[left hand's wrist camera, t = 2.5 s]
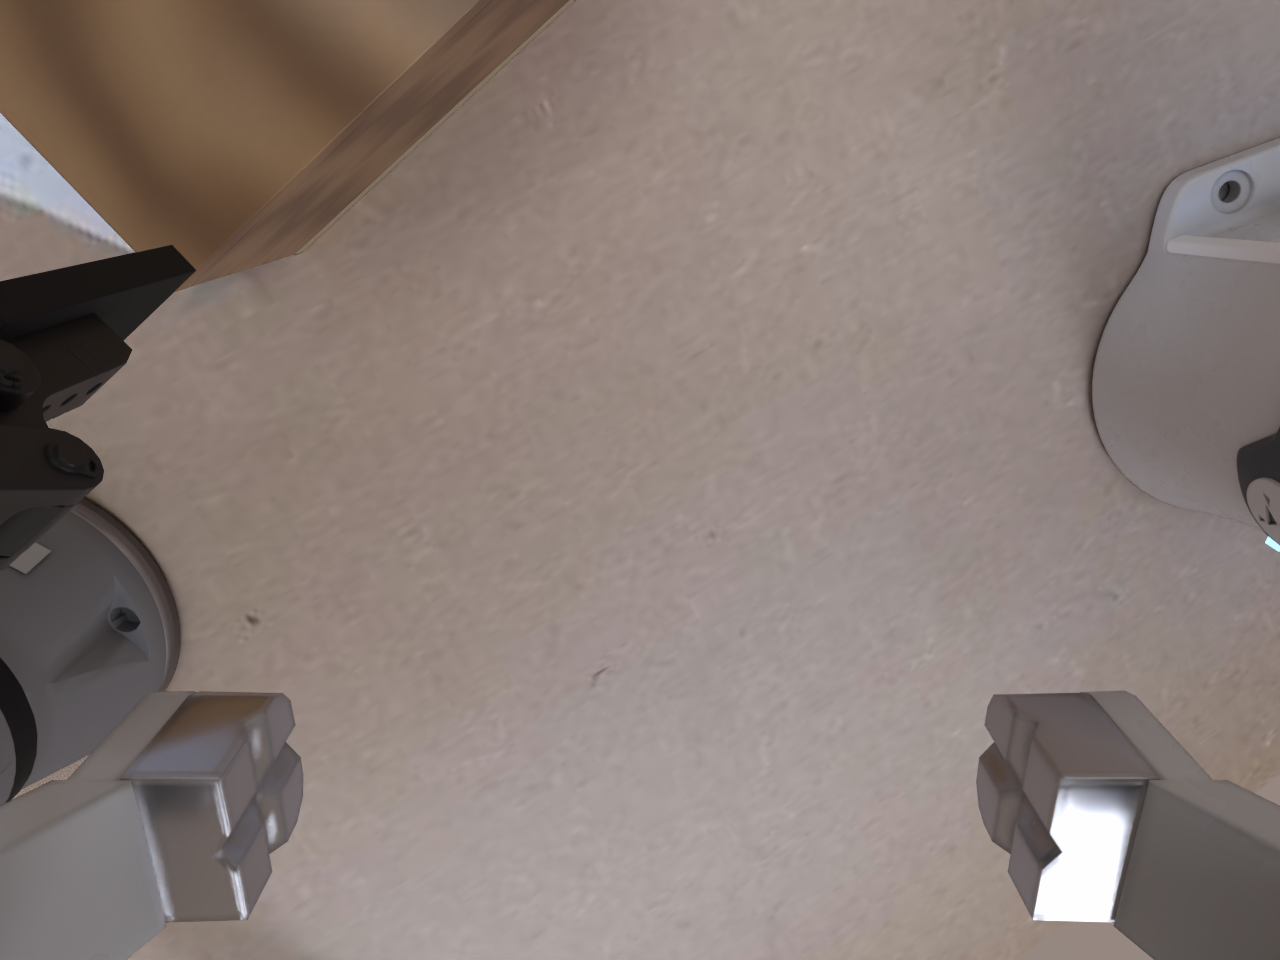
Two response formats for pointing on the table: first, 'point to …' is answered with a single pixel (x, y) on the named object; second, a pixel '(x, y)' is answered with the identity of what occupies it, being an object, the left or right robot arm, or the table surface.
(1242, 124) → the table surface
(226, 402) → the table surface
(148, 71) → the cabinet
